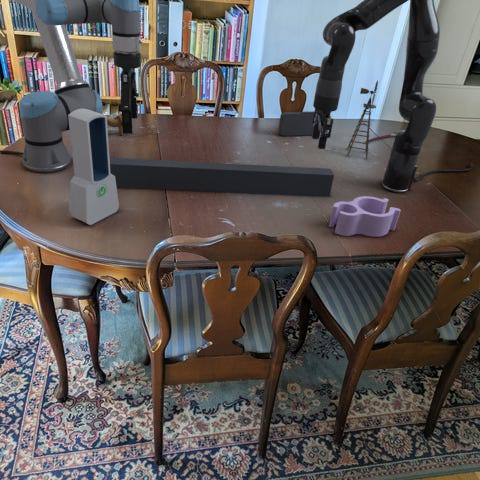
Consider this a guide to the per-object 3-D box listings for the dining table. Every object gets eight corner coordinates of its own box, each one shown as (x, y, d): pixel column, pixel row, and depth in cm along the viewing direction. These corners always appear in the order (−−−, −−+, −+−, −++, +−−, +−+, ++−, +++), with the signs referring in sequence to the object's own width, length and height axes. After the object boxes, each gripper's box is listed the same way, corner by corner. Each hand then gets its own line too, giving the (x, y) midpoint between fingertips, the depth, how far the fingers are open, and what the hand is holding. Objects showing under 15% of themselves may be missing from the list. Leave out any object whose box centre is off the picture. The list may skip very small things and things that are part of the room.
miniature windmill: (367, 159, 190) (386, 84, 173) (346, 156, 191) (363, 81, 174) (366, 151, 197) (385, 79, 181) (346, 148, 198) (363, 76, 182)
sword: (403, 131, 224) (404, 129, 223) (408, 133, 222) (409, 131, 221) (360, 143, 208) (360, 140, 207) (365, 145, 206) (366, 142, 205)
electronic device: (87, 227, 129) (77, 121, 112) (68, 218, 132) (56, 113, 115) (120, 210, 138) (114, 110, 122) (101, 202, 141) (94, 103, 125)
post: (109, 187, 150) (108, 163, 145) (111, 180, 154) (110, 157, 150) (329, 196, 159) (334, 175, 154) (326, 189, 163) (330, 168, 158)
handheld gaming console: (323, 132, 212) (327, 111, 207) (326, 134, 210) (330, 113, 205) (277, 134, 205) (280, 111, 200) (279, 136, 203) (282, 113, 198)
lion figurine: (130, 130, 193) (129, 109, 188) (132, 135, 188) (131, 113, 184) (93, 131, 188) (91, 109, 183) (94, 136, 184) (93, 114, 179)
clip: (342, 240, 135) (347, 220, 131) (322, 219, 145) (326, 199, 141) (399, 234, 141) (406, 214, 137) (377, 213, 151) (382, 194, 147)
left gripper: (136, 62, 120) (138, 140, 132) (144, 43, 141) (146, 113, 152) (106, 60, 119) (111, 139, 131) (119, 42, 140) (122, 111, 152)
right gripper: (346, 100, 136) (335, 152, 145) (333, 87, 148) (324, 136, 157) (321, 99, 135) (311, 151, 144) (310, 85, 147) (302, 134, 156)
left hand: (130, 125), depth 142 cm, fingers open, 13 cm apart
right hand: (318, 143), depth 150 cm, fingers open, 8 cm apart
